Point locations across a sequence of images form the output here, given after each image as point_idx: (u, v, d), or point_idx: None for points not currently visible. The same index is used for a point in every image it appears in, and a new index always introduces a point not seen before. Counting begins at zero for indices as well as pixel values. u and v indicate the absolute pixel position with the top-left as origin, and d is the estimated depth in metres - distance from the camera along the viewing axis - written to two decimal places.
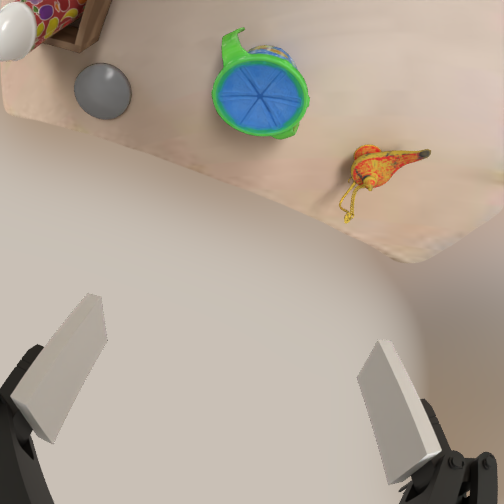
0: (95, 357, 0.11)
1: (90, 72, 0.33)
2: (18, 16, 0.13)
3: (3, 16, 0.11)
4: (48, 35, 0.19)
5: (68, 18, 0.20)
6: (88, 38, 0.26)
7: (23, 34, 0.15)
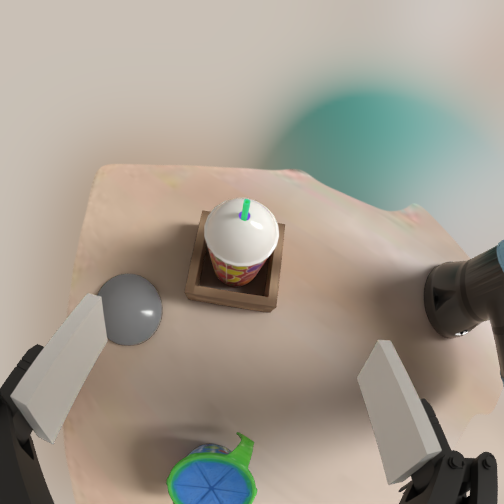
0: (95, 357, 0.11)
1: (151, 295, 0.41)
2: (267, 246, 0.31)
3: (271, 227, 0.31)
4: (221, 267, 0.34)
5: (229, 278, 0.38)
6: (198, 296, 0.39)
7: (245, 256, 0.30)
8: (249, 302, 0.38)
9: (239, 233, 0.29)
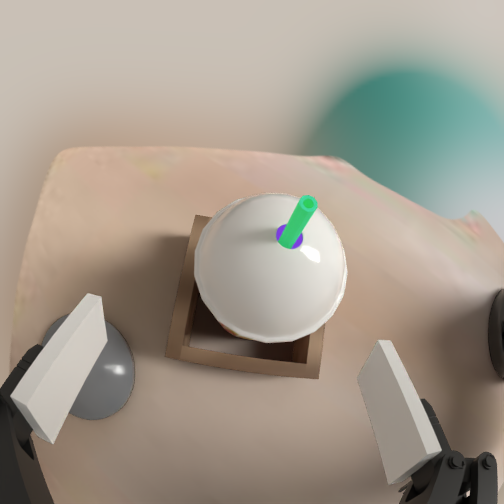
0: (95, 357, 0.11)
1: (116, 349, 0.24)
2: (331, 302, 0.14)
3: (342, 261, 0.14)
4: (230, 329, 0.17)
5: None
6: None
7: (287, 326, 0.13)
8: (275, 374, 0.21)
9: (277, 280, 0.12)
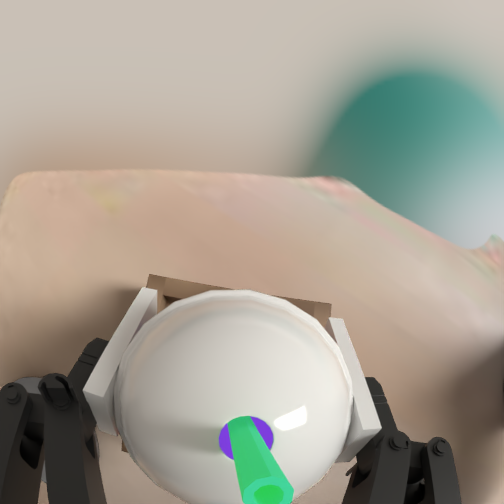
0: None
1: None
2: None
3: (347, 429, 0.07)
4: None
5: None
6: None
7: None
8: None
9: (225, 496, 0.05)
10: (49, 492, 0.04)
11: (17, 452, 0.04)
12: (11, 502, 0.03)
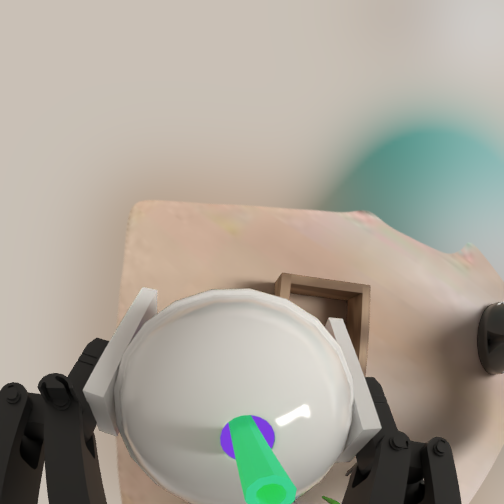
0: None
1: None
2: None
3: (348, 428, 0.07)
4: None
5: None
6: None
7: None
8: None
9: (227, 496, 0.05)
10: (49, 492, 0.04)
11: (17, 452, 0.04)
12: (11, 502, 0.03)
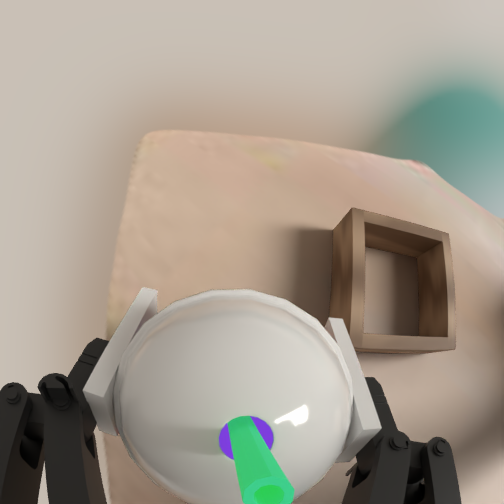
0: None
1: None
2: None
3: (347, 428, 0.07)
4: None
5: None
6: (359, 349, 0.22)
7: None
8: (430, 348, 0.21)
9: (225, 496, 0.05)
10: (49, 492, 0.04)
11: (17, 452, 0.04)
12: (11, 502, 0.03)
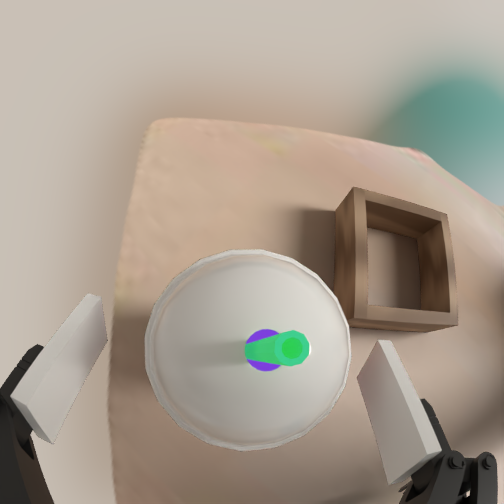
0: (95, 357, 0.11)
1: None
2: None
3: (346, 359, 0.09)
4: None
5: None
6: (364, 322, 0.23)
7: (266, 444, 0.08)
8: (433, 323, 0.22)
9: (248, 410, 0.07)
10: None
11: None
12: None
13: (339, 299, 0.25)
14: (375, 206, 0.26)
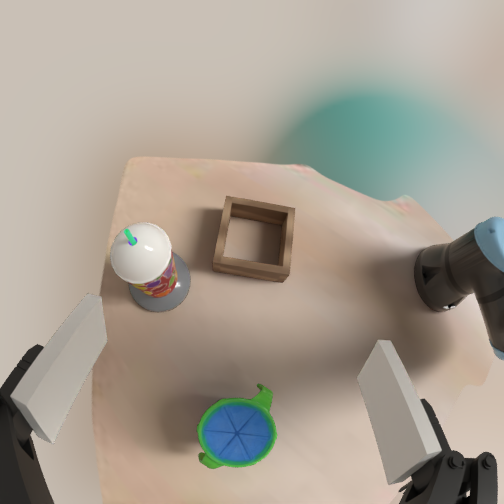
0: (95, 357, 0.11)
1: (181, 267, 0.49)
2: (155, 267, 0.33)
3: (159, 250, 0.33)
4: None
5: (143, 291, 0.40)
6: (224, 267, 0.47)
7: (136, 275, 0.33)
8: (267, 270, 0.46)
9: (128, 256, 0.31)
10: None
11: None
12: None
13: None
14: (240, 206, 0.51)
